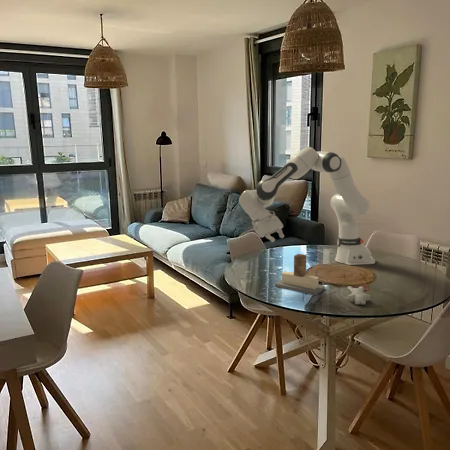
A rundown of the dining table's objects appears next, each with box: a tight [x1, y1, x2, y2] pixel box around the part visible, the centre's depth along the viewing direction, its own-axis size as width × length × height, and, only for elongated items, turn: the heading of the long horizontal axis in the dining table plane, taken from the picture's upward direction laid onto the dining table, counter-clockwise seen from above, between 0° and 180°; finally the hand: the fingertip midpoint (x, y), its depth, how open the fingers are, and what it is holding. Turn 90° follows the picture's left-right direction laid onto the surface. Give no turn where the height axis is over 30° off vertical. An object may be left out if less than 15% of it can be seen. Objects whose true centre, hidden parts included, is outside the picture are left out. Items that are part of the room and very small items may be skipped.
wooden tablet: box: [351, 283, 370, 293], centre depth 224 cm, size 26×2×10 cm
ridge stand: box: [274, 270, 326, 296], centre depth 218 cm, size 22×10×6 cm, turn 54°
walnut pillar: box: [293, 253, 307, 277], centre depth 216 cm, size 4×4×10 cm
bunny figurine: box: [346, 286, 371, 305], centre depth 201 cm, size 10×5×15 cm
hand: (278, 239), depth 220 cm, fingers open, 8 cm apart
